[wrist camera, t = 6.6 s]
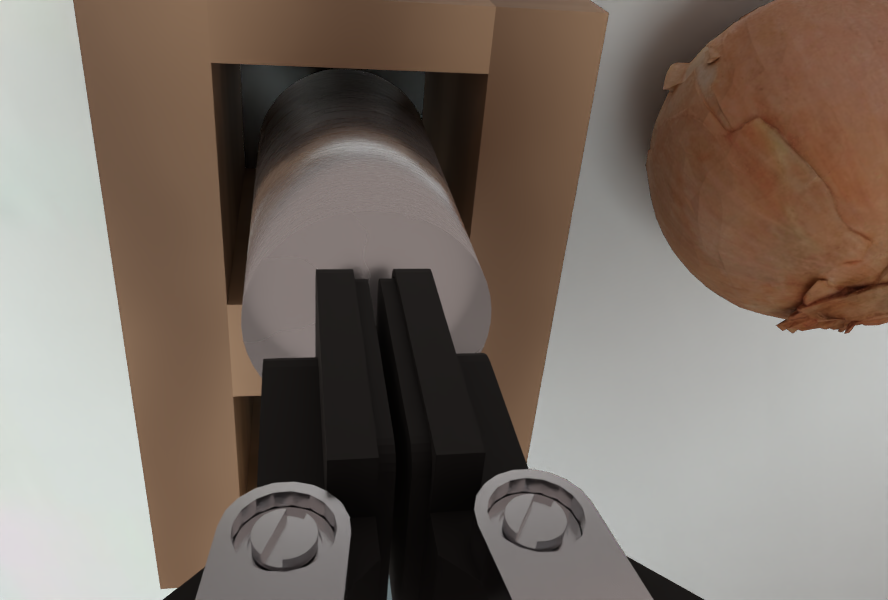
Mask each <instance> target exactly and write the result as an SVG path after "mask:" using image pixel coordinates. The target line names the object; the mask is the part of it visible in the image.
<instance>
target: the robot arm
mask: <svg viewBox="0 0 888 600" xmlns="http://www.w3.org/2000/svg"><path fill="white" fill-rule="evenodd" d="M388 579H390V587H391V595H392V600H704V599H702V598H700V597H699V596H697V595H695V594H693V593H691V592H690V591H688V590H686V589H684V588H682V587H681V586H679V585H677V584H675V583H674V582H672V581H670V580H668V579H666V578H665V577H663V576H661V575H659V574H657V573H656V572H654V571H652V570H650V569H648V568H647V567H645V566H643V565H641V564H639V563H638V562H636V561H634V560H632V559H631V558H629V557H627V556H626V555H625V554H624V552H623V550H622V549H621V547H620V546H619V544H618V542H617V541H616V539H615V538H614V536H613V535H612V533H611V531H610V530H609V528H608V527H607V525H606V523H605V522H604V520H603V519H602V517H601V515H600V514H599V512H598V511H597V509H596V507H595V506H594V504H593V503H592V502H591V500H590V499H589V498H588V497H587V496H586V495H585V493H584V492H583V491H582V490H581V489H580V488H578V487H577V486H575V485H574V484H572V483H571V482H570V481H568V480H567V479H564V478H562V477H559V476H557V475H555V474H552V473H550V472H544V471H539V470H533V469H528V466H527V463H526V461H525V458H524V455H523V452H522V449H521V447H520V444H519V441H518V438H517V435H516V432H515V430H514V427H513V424H512V421H511V418H510V416H509V413H508V410H507V407H506V404H505V401H504V399H503V396H502V393H501V390H500V387H499V384H498V382H497V379H496V376H495V373H494V370H493V368H492V365H491V362H490V360H489V358H488V356H487V354H485V353H458V354H456V351H455V348H454V344H453V341H452V338H451V334H450V331H449V328H448V324H447V321H446V318H445V314H444V311H443V308H442V304H441V301H440V298H439V294H438V291H437V288H436V284H435V281H434V277H433V274H432V271H431V269H393V271H392V277H391V278H380V279H379V281H378V294H377V315H376V324H375V318H374V312H373V305H372V299H371V293H370V287H369V281H368V279H355V277H354V271H353V269H316V276H315V357H305V358H266V359H263V367H262V387H261V409H260V430H259V451H258V473H257V488H255V489H253V490H251V491H250V492H248V493H246V494H244V495H242V496H241V497H239V498H238V499H237V500H236V501H235V502H233V503H232V504H231V505H230V506H229V507H228V508H227V509H226V510H225V512H224V514H223V516H222V518H221V520H220V522H219V524H218V525H217V528H216V532H215V535H214V538H213V542H212V545H211V548H210V552H209V555H208V558H207V562H206V565H205V567H204V568H203V569H201V570H200V571H199V572H198V573H196V574H195V575H194V576H193V577H191V578H190V579H189V580H187V581H186V582H185V583H184V584H182V585H181V586H180V587H178V588H177V589H176V590H175V591H173V592H172V593H171V594H169V595H168V596H167V597H166V598H164V599H163V600H387V592H388Z"/></svg>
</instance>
